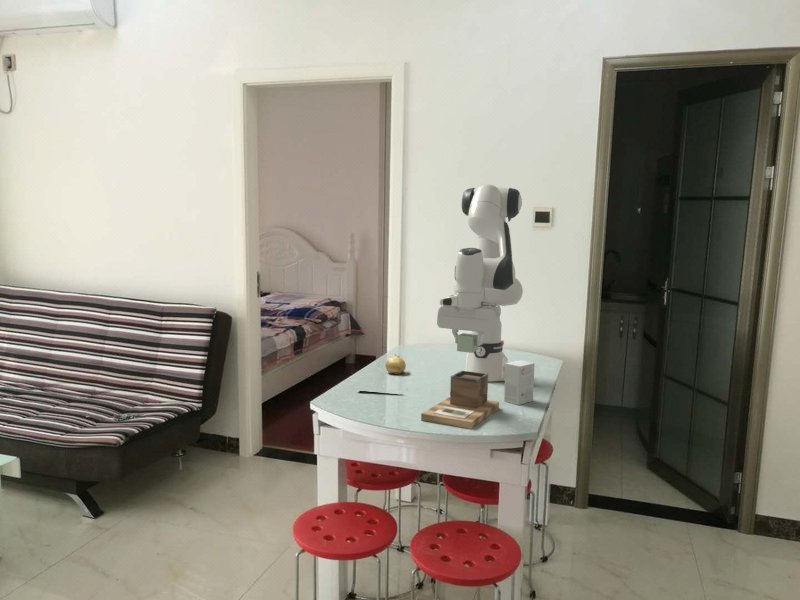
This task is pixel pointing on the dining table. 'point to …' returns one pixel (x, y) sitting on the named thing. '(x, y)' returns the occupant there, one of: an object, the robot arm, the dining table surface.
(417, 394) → the dining table surface
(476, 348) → the sage block
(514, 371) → the small box
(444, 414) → the oak base board
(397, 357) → the onion
